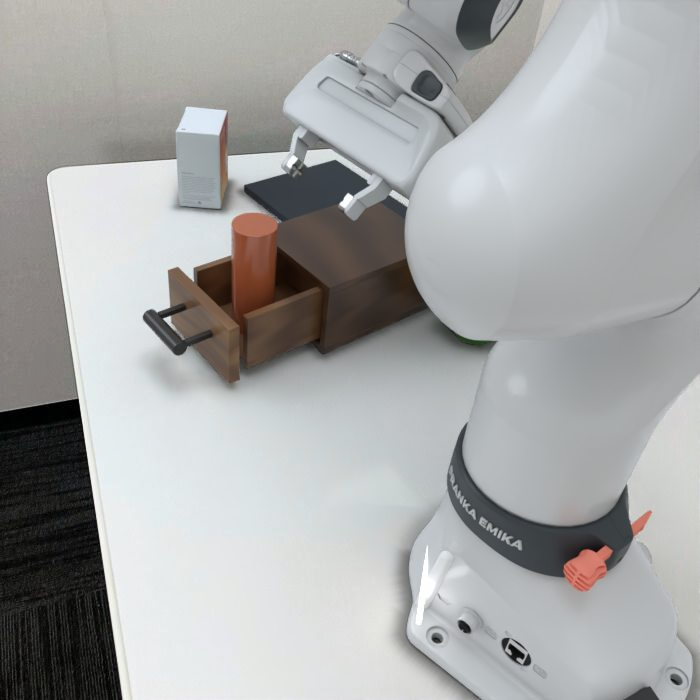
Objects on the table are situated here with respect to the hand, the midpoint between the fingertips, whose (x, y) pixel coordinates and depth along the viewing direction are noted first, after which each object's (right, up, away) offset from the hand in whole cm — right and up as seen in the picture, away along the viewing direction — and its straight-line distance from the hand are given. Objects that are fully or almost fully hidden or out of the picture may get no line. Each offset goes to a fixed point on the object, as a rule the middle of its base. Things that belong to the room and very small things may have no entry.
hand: (315, 193), depth 77 cm
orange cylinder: (-7, -13, +5) cm, 15 cm away
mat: (+1, +4, +28) cm, 29 cm away
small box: (-16, +6, +28) cm, 33 cm away
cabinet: (+3, -10, +13) cm, 16 cm away
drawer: (-8, -14, +5) cm, 17 cm away
